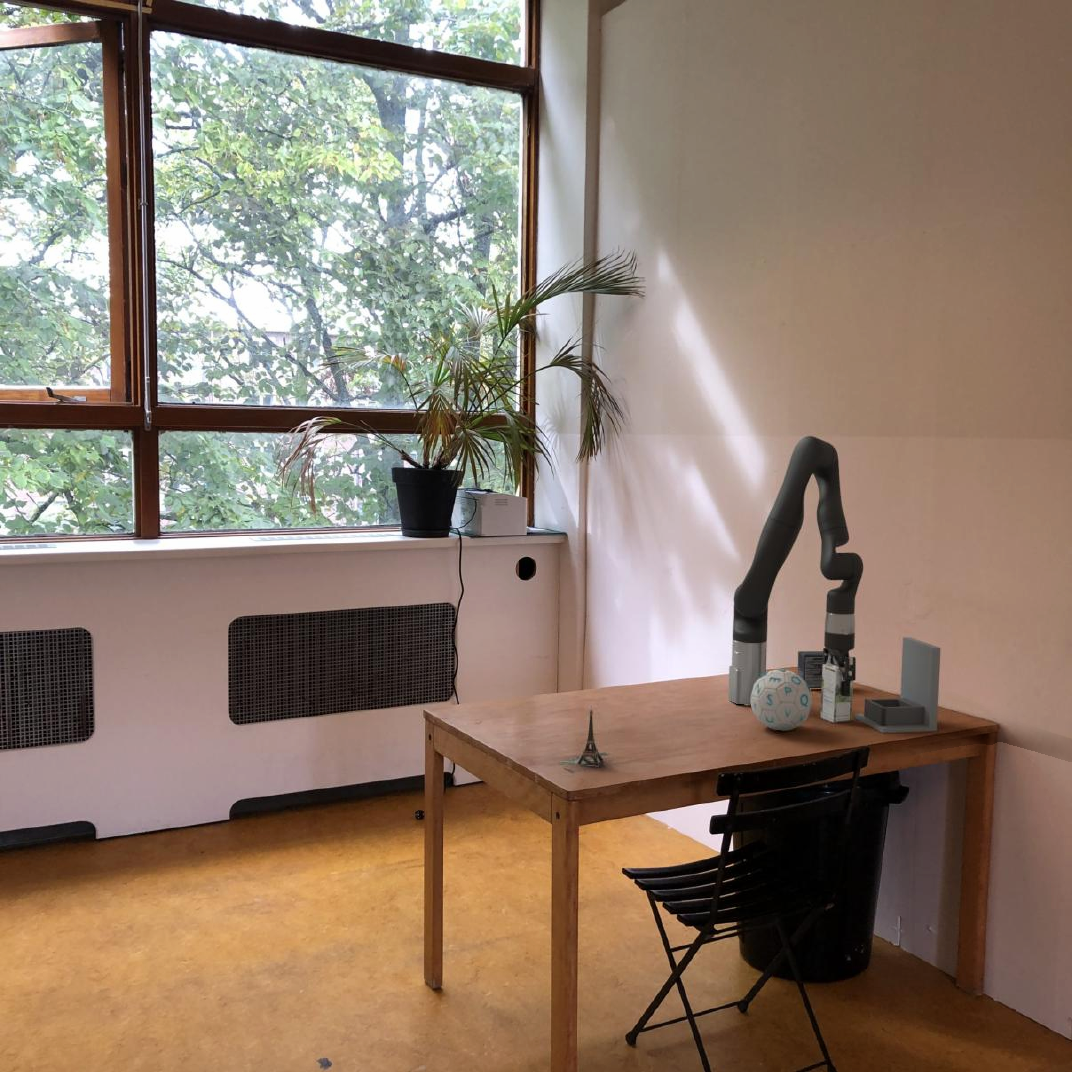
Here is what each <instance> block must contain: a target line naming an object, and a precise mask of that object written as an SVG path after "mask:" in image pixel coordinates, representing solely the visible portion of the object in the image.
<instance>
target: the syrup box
mask: <svg viewBox="0 0 1072 1072" xmlns="http://www.w3.org/2000/svg"><path fill="white" fill-rule="evenodd" d="M841 669H845V668H841ZM851 676H852V671H851ZM844 677H845V674H844ZM820 691H821V692H820V693H821V694H820V695H821V696H820V709H819V710H820V712H819V718H820V719H822V718H823V719H822V720H825V719H826V720H825V721H827V720H828V721H827V722H830V723H833V724H835V723H844V722H845V723H846V722H851V721H852V716H853V715H852V713H853V710H852V709H853V695H854V693H853V692H854V681H851V682H850V695H849V696H842V695H841V677H840V674H839V673H838V668H837V667H836V665H834V664H823V669H822V689H821V690H820Z"/></svg>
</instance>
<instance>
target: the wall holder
mask: <svg viewBox="0 0 1072 1072" xmlns="http://www.w3.org/2000/svg"><path fill="white" fill-rule="evenodd" d="M901 651H902V652H901V672H900V674H901V675H900V696H899V698H893V697H892V698H868V699H867V698H865V699H864V709H863V710H864V711H863V712H864V713H854V718H855V719H857V720H858V721H860V722H861V723H864V724H865V725H868V726H869V727H871V728H872V729H875V730H877V731H878V732H880V733H882V734H887V733H889V734H891V733H894V734H896V733H917V732H918V733H920V732H923V733H924V732H937V731H938V714H939V713H938V710H939V693H940V692H939V689H940V686H939V685H940V671H941V670H940V669H941V668H940V666H941V647H938V646H935V645H934V644H930V643H927V642H925V641H922V640H920V639H916V638H913V637H910V636H905V637H903V636H902V649H901Z"/></svg>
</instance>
